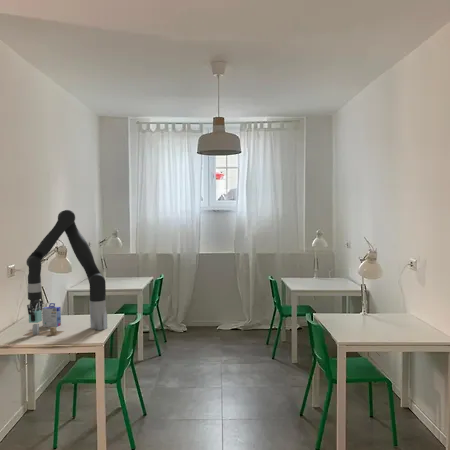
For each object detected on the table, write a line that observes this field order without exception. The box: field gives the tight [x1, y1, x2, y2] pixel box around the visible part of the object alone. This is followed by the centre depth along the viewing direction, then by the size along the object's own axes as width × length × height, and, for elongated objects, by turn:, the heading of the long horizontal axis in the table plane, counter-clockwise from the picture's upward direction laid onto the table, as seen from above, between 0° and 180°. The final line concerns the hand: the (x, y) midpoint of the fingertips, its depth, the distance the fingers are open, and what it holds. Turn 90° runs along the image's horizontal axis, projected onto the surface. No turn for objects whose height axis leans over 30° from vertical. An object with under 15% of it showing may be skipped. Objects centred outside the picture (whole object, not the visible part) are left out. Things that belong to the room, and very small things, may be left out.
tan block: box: [49, 327, 58, 335], centre depth 294 cm, size 3×3×4 cm
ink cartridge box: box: [42, 302, 62, 328], centre depth 316 cm, size 10×6×14 cm, turn 81°
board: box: [22, 330, 65, 337], centre depth 298 cm, size 20×11×1 cm, turn 83°
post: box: [32, 323, 40, 335], centre depth 295 cm, size 3×3×6 cm
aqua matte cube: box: [28, 310, 43, 324], centre depth 294 cm, size 5×5×6 cm
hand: (35, 320), depth 294 cm, fingers closed on aqua matte cube, 5 cm apart
